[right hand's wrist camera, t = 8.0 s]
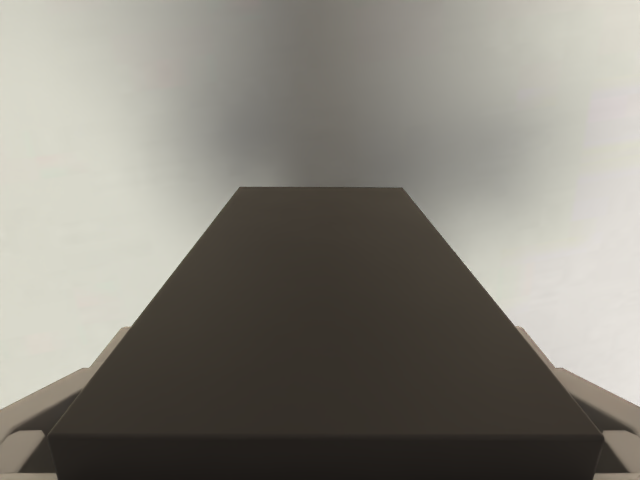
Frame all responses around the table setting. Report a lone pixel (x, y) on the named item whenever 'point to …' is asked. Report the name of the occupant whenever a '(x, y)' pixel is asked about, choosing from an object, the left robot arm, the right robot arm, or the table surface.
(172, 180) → the table surface
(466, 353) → the box
